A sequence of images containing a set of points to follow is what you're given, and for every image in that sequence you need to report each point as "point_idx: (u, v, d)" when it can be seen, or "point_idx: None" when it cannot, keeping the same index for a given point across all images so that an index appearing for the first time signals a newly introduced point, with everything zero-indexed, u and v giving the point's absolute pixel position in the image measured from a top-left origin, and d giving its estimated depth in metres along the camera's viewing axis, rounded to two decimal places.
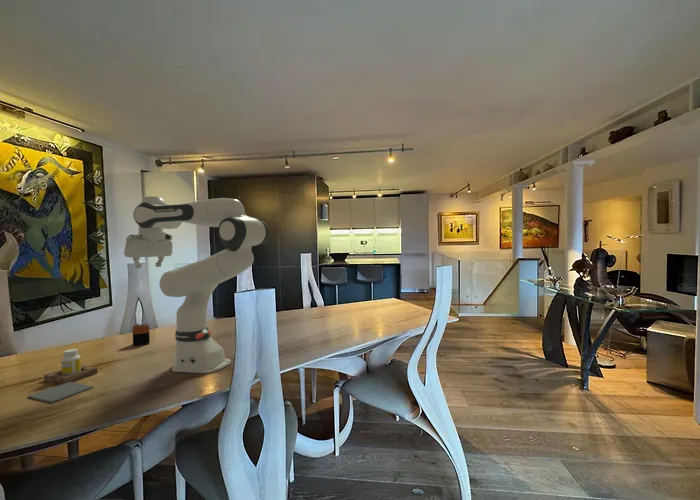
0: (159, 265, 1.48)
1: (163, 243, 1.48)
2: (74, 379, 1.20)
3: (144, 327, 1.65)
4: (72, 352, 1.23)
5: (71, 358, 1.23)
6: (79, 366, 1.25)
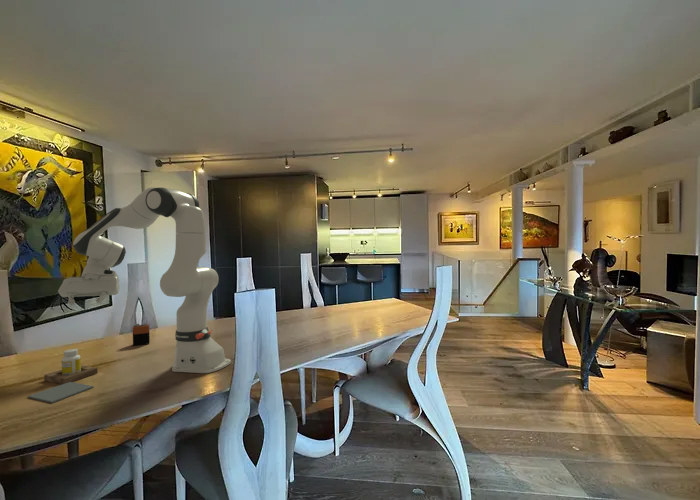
0: (98, 300, 1.37)
1: (104, 279, 1.43)
2: (74, 379, 1.20)
3: (144, 327, 1.65)
4: (72, 352, 1.23)
5: (71, 358, 1.23)
6: (79, 366, 1.25)
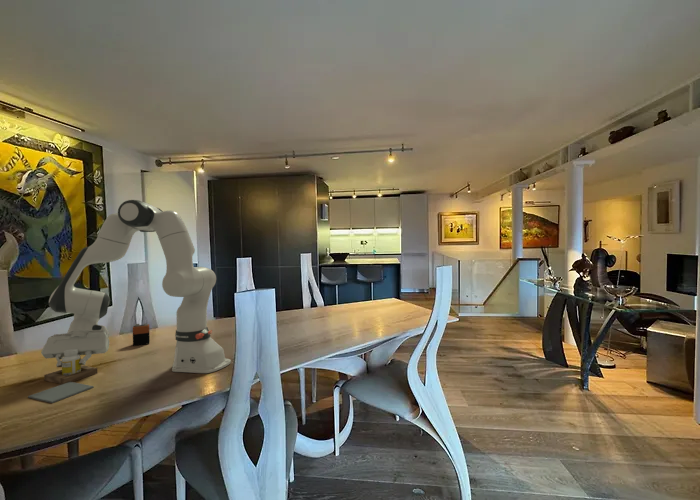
0: (80, 362, 1.25)
1: (92, 336, 1.31)
2: (74, 379, 1.20)
3: (144, 327, 1.65)
4: (72, 352, 1.23)
5: (71, 358, 1.23)
6: (79, 366, 1.25)
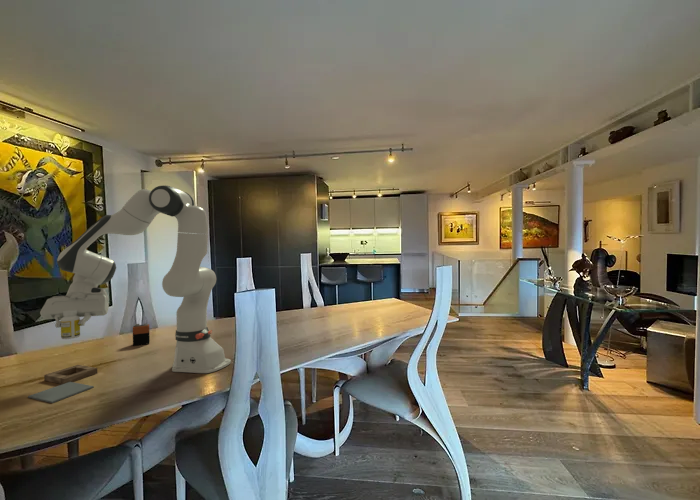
0: (80, 322, 1.23)
1: (92, 298, 1.30)
2: (74, 379, 1.20)
3: (144, 327, 1.65)
4: (71, 312, 1.22)
5: (70, 318, 1.22)
6: (78, 327, 1.24)
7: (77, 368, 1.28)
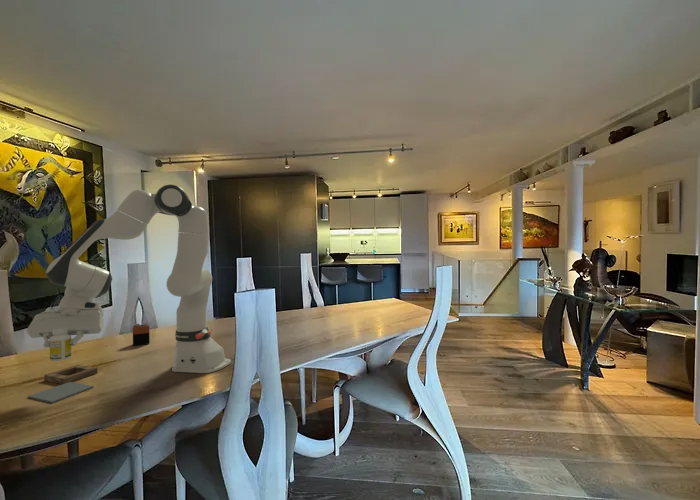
0: (71, 342, 1.11)
1: (85, 314, 1.17)
2: (74, 379, 1.20)
3: (144, 327, 1.65)
4: (62, 331, 1.10)
5: (60, 337, 1.09)
6: (69, 347, 1.11)
7: (77, 368, 1.28)
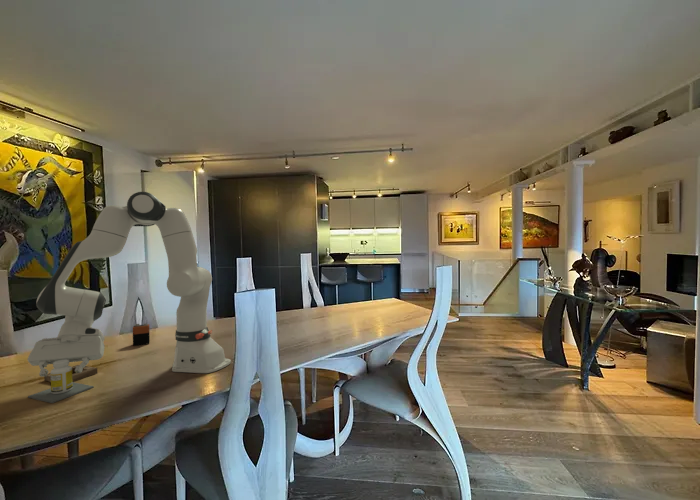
0: (77, 369, 1.11)
1: (85, 340, 1.17)
2: (74, 379, 1.20)
3: (144, 327, 1.65)
4: (62, 363, 1.10)
5: (61, 370, 1.09)
6: (70, 379, 1.11)
7: None
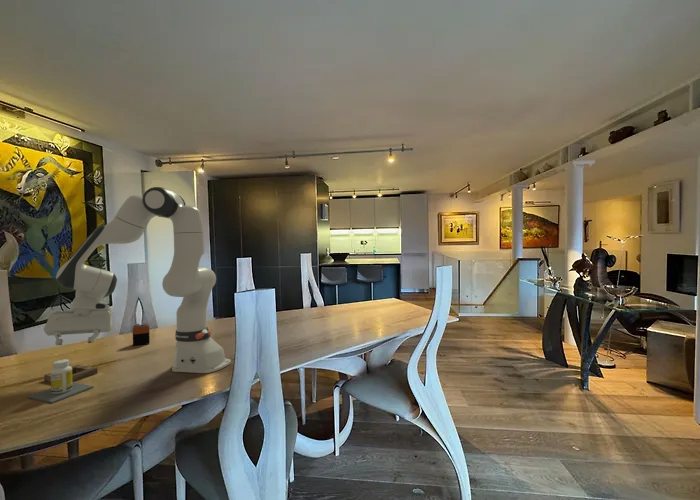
0: (89, 340, 1.23)
1: (96, 314, 1.29)
2: (74, 379, 1.20)
3: (144, 327, 1.65)
4: (62, 363, 1.10)
5: (61, 370, 1.09)
6: (70, 379, 1.11)
7: (77, 368, 1.28)
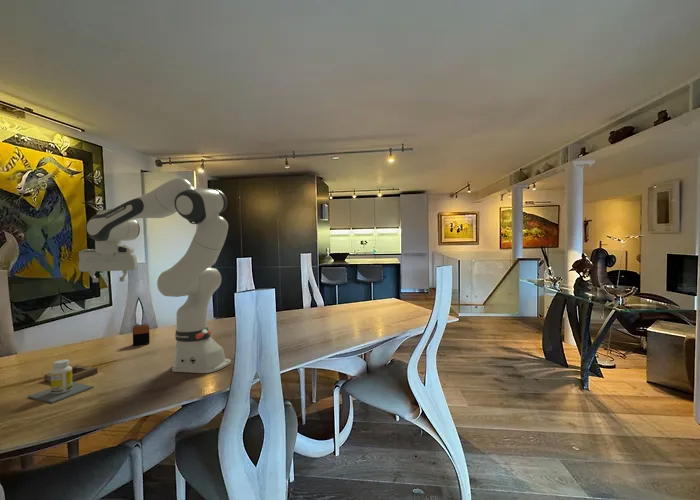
0: (121, 280, 1.42)
1: (120, 256, 1.41)
2: (74, 379, 1.20)
3: (144, 327, 1.65)
4: (62, 363, 1.10)
5: (61, 370, 1.09)
6: (70, 379, 1.11)
7: (77, 368, 1.28)
